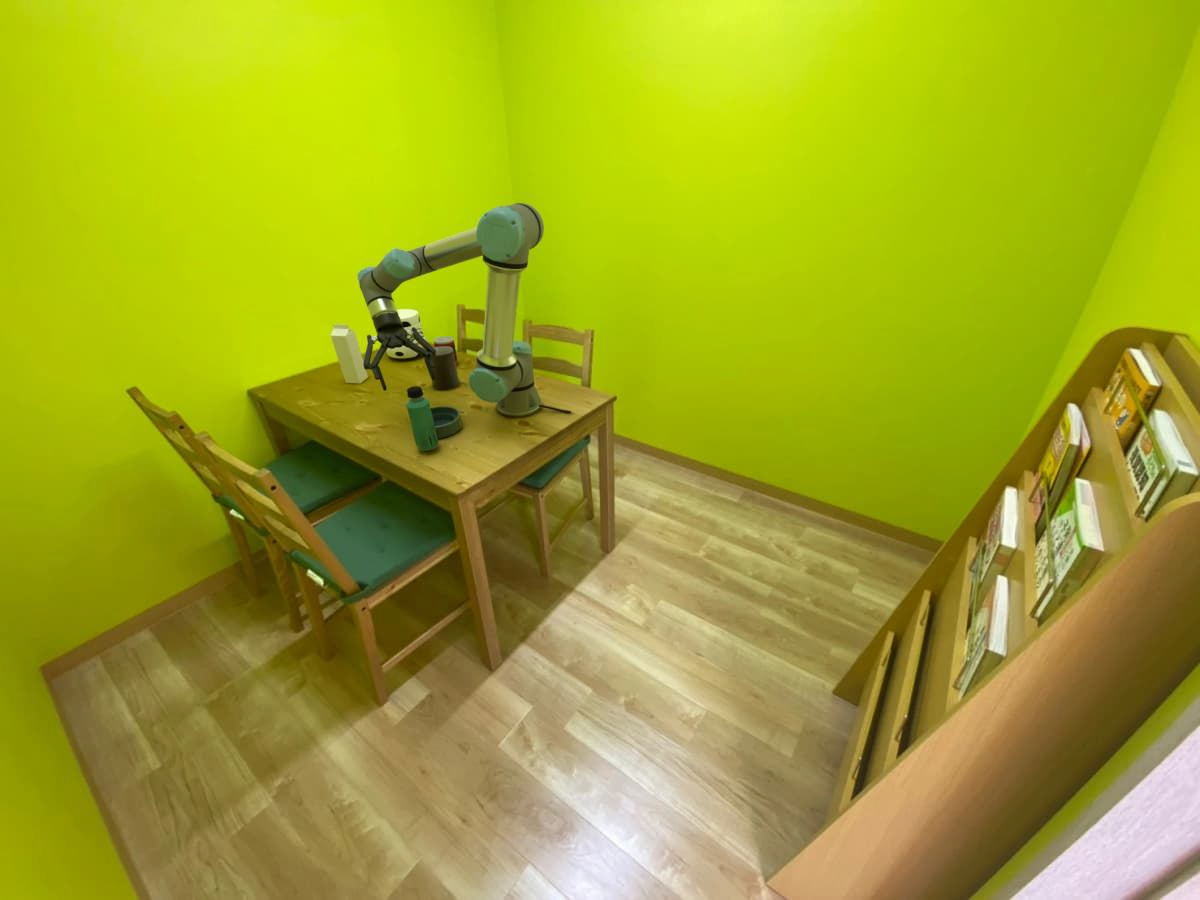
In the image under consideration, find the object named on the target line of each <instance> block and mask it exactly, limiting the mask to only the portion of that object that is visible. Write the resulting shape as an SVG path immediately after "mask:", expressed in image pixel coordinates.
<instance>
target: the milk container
mask: <svg viewBox="0 0 1200 900" xmlns="http://www.w3.org/2000/svg"><path fill="white" fill-rule="evenodd" d="M397 311H398V316H399V317H400V320H401V322H402V325H403V328H404V329H405V330H406V331H408V330H411V329H412V327H415V328H416V330H417V332H418V334H419V335H420V336H422V337H423V338H424V339H425V340H426V341H427V342H428V339H427V337H426V335H425V334H424V331H423V326H422V321H421V317H420V315H419V312H418V310H416V309H413V308H412V309H410V308H402V309H401V308H399V309H397ZM407 338H408V339H410V341H412V342H413V343H415V344H417V345H418V346H420V347H422V346H421V345H420V344H419V343H418V342H417V341H416V340H415V339H414V337H411V336H410V335H407ZM422 348H423V347H422ZM423 349H424V348H423ZM385 353H386V354H387V356H388V357H390V358H391V359H394V360H413V359H416V358H419V357H422V356H421V355H420V354H418V353H416V352H415V351H413V350H411V349H410V348H407V347H405V346H402V347H400V348H397V347H396V348H394V349H391V348H387V350H386V352H385Z"/></svg>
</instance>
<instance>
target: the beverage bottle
mask: <svg viewBox="0 0 1200 900" xmlns="http://www.w3.org/2000/svg"><path fill="white" fill-rule="evenodd" d="M406 394H407V398H409V400H408V401H407V402H406V404H405V406H406V409H407V413H408V417H409V420H410V425H411V431H412V435H413V438H414V442H415V445H416V448H417V449H418V450H419V451H423V452H426V451H427V452H429V451H431V450H434V449H436V448H437V447H438V446H439V438H437V437H438V436H437V432H436V429H435V425H434V421H433V419H434V418H433V414H432V412H431V408H432V407H431V404H430V400H429V399H428V398H426V397H424V392H423V389H422V387H421V386H418V385H415V386H410V387H408V388H407V389H406Z"/></svg>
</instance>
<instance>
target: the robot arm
mask: <svg viewBox="0 0 1200 900" xmlns="http://www.w3.org/2000/svg"><path fill="white" fill-rule="evenodd" d="M544 230H545V225H544V220H543V218H542V216H541V214H540V212H539V211H538V210H537V209H536V208H535V207H534V206H532V205H530V204H528V203H525V202H524V203H523V202H517V203H513V204H507V205H499V206H496V207H493V208H491V209H490V210H488V211H486V212H485V213H484V214H483V215H481V217H480V218H479V220H478V223H477V225H476V226H475V227H473V228H470V229H467V230H464V231H462V232H459V233H456V234H453V235H450V236H447V237H444V238H442V239H439V240H435V241H434V242H430V243H428V244H424V245H421V246H419V247H416V248H412V249H409V250H407V251H406V250H404V249H400V248H397V247H395V248H393V249H391V250H390V251H389V252H387V253H386V254H385V255H384V257H383V259H382V260H381V261H380V262H379V263H378V264H377V265H376V266H366V267H365V268H363V269H361V270H359V271H358V272H357V275H356V276H357V281H358V286H359V290H360V291H361V293H362V296H363V299H364V302H365V304H366V307H367V309H368V312H369V315H370V318H371V321H372V324H373V327H374V329H375V332H376V335H371V334H367V335H366V342H367V345H366V349H365V353H364V358H363V361H364V363H363V366H364V369H365V370H366V371H367V370H371V371H372V374H373V377H374V379H375V380H376V381H377V380H379V382H380V385H381V387H382V390H383V391H387V385H386V382H385V379H384V376H383V374H382V371H381V367H380V362H381V361H382V359H383V356H384V355H385V353H387V352H386V350H387V348H391V349H394V348H396V347H397V348H400V347H402V346H405V347H407V348H410V349H411V350H413V351H415V352H416V353H418V354H420V355H421V356H420V357H423V358H424V363H425V366H426V368H427V371H428V374H429V376H430V380H431V381H432V380H434V378H435V375H434V372H433V369H432V368H434V362H433V360H432V357H433V356H435V355H436V350H435V349H434V346H432V345H431V343H429V342H428V340H427V339H426V340H427V341H426V340H425V339H424V338H423V337H422V336H420V335H419V334H418V332H417V330H416V328H415V327H412V329H411V330H408V331H406V330H405V329H404V328H403V325H402V322H401V320H400V317H399V316H398V311H397V310H398V309H397V307H396V304H395V300H394V298H393V296H392V294H393V293H394V292H395V291H396V290H397V289H398V288H399V287H400V286H401V285H402V284H403V283H405V282H408V281H410V280H413V279H416V278H418V277H422V276H424V275H426V274H430V273H433V272H436V271H440V270H442V269H446V268H448V267H451V266H455V265H457V264H461V263H464V262H467V261H470V260H474V259H477V258H480V257H482V261H483V263H484V265H486V266H487V280H486V281H487V282H486V293H485V309H484V324H483V335H482V337H483V339H482V348H481V349H479V350H478V351H477V353H476V363H475V368H474V369H473V370H471V373H470V374H469V376H468V384H469V387H470V389H471V391H472V393H474V395H476V397H477V398H478V399H480V400H481V401H484V402H487V403H491V404H493V403H496V410H497V412H498V413H499V414H500V415H502V416H504V417H508V418H509V417H510V418H524V417H529V416H532V415H534V414H536V413H538V412H539V411H540V410H541V409H542V408H544V409H547V410H552V411H556V412H560V413H566V414H571V413H572V411H571V410H567V409H563V408H562V409H561V408H557V407H553V406H549V405H544V404H542V400H541V399H542V398H541V397H540V394H539V392H538V390H537V388H536V385H535V377H534V375H535V374H534V363H533V362H534V361H533V352H532V346H531V345H530V344H529V343H528V342H525V341H521V340H515V332H516V321H517V314H518V313H517V312H518V302H519V293H520V286H521V285H520V284H521V275H522V273H523V272H524V271H525V270H526V269H527V268H528V263H529V257H530V256H529V255H530V251H531V250H532V249H535V247H537V246H538V245H539V243H540V242H541V241H542V239H543V236H544V233H545V231H544ZM407 335H410V336H411V337H414V339H415V340H416V341H417V342H418V343H419V344H420V345H421V346H422V347H423V348H424V349H423V348H422V347H420V346H418V345H417V344H415V343H413V342H412V341H410V339H408V338H407ZM376 342H379V343H380V346H379V348H378V350H377V352H376V354H375V355H374V357H373V359H372V353H373V350H374V349H373V348H374V345H376ZM371 359H372V361H371Z"/></svg>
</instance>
